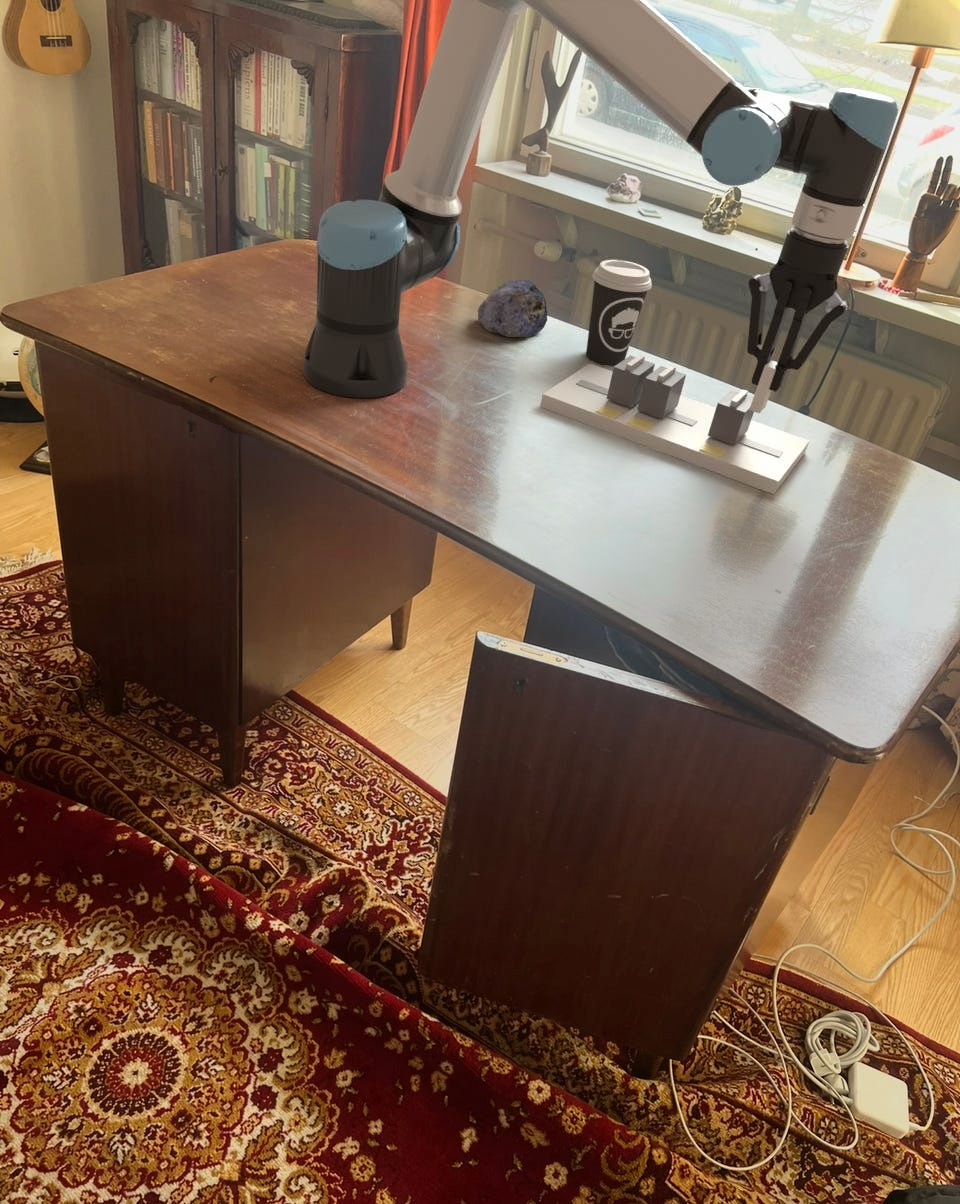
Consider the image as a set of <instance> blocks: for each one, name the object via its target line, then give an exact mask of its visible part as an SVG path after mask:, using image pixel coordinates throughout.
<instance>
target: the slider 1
mask: <svg viewBox="0 0 960 1204" xmlns="http://www.w3.org/2000/svg"><path fill="white" fill-rule="evenodd" d="M645 358H646V356H645V355H643V354H639V355H637V356H633V355H629V356H628V357H627V356H626V357H625V359H624V360H623V361H622V362H620V363H619V364H617V365H616V366H613V368H612V372H613V373H612V377H611V381H610V386H609V390H608V394H607V399H608V400H611V401H614V402H617V403H619V404H622V405H625V406H628V407H630V408H631V407H633V406H634V405H635V404H637V403H638V402H639V401H640V397H641V393H642V389H643V385H644V381H645V378H646V377H647V376H648V375H650V374H651V373H652V372H654V371H655V365H656V364H655V362H654V363H653V362H650V361H648V360H645Z"/></svg>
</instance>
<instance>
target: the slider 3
mask: <svg viewBox="0 0 960 1204" xmlns="http://www.w3.org/2000/svg"><path fill="white" fill-rule="evenodd" d="M748 393H749V391H748V390H746V389H742V390H741V391H739V392H738V391H735V390H733V389H731V390H729V391H728V393H727V394H726V395H725V396H723V398H721V399H720V400H719V401H718V402H717V403H716V407H715V408H716V410H715V413H714V417H713V420H712V423H711V426H710V430H709V433H708V436H710V437H713V438H716V439H719V440H721V441H724V442H727V443H730V444H732V445H735V444H736V443H737V442H738V441H739V440H740V439H741V438H742V437H743V435H744V434H745V433H746V432H747V431H748V428H749V425H750V422H751V420H753V417H754V413H755V412H754V411H751V410H749V409H750V406H751V403H752V401H753V398H754V396H750V395H748Z"/></svg>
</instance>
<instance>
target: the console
mask: <svg viewBox="0 0 960 1204" xmlns="http://www.w3.org/2000/svg"><path fill="white" fill-rule="evenodd" d="M612 373H613V370H609V369H607V368H604V367H600V366H599V365H594V364H592V363H588V364H587V365H585V366H584V367H582V368H580V369H579V370H577V371H576V372H574V373H573V374H571V375H569V376H568V377H567V378H565V379H563V380H562V381H560V382H559V383H557V384H556V385H554V386H552V387H551V388H549V389H548V390H546V391H545V392H543V393H542V395H541V401H540V407H541V408H543V409H545V410H548V411H550V412H554V413H557V414H559V415H562V416H565V417H568V418H570V419H573V420H576V421H578V422H581V423H583V424H586V425H589V426H590V427H594V428H597V429H599V430H602V431H605V432H607V433H610V434H613V435H615V436H618V437H620V438H623V439H626V440H628V441H631V442H634V443H636V444H639V445H641V446H644V447H647V448H650V449H651V450H655V451H658V452H661V453H663V454H665V455H667V456H672V458H673V457H674V458H676V459H679V460H682V461H684V462H687V463H689V464H692V465H695V466H697V467H700V468H702V469H704V470H708V471H711V472H713V473H716V474H718V475H722V476H724V477H725V478H726V477H727V478H729V479H732V480H735V481H737V482H740V483H743V484H745V485H747V486H748V485H749V486H750V487H753V488H756V489H758V490H761V491H763V492H766V493H770V494H771V495H775V493H776V492H777V491H778V490H779V489H780V487H781V486H782V484H783V483H784V482H785V480H786V479H787V478H788V476H789V475H790V474H791V472H793V470H794V468H795V467H797V464H798V463H799V462H800V461H801V459H802V458H803V457H804V455H805V454H806V451H807V449H808V446H809V443H810V440H809V439H806V438H803V437H801V436H797V435H794V434H791V433H789V432H785V431H783V430H781V429H777V428H774V427H772V426H769V425H766V424H763V423H760V422H758V421H754V420H753V419H751V422H750V425H749V428H748V431H747V432H746V433H745V434H744V435H743V437H742V438H741V439H740V440H739V441H738V442H737V443H736V444H735V445H732V444H730V443H727V442H724V441H721V440H719V439H716V438H713V437H710V436H708V433H709V430H710V426H711V423H712V420H713V417H714V413H715V410H716V407H714V406H713V405H712V406H711V405H709V404H706V403H703V402H701V401H697V400H694V399H691V398H689V397H686V396H683V395H682V394H681V395H680V399H679V402H678V406H677V407H676V408H675V409H674V410H672V411H671V412H670V413H669V414H668V415H667V416H665V417H664V418H663V419H661V418H658V417H655V416H652V415H650V414H647V413H644V412H641V411H639V410H637V409H638V405H639V402H638V403H637V404H635V405H634V406H633V407H631V408H630V407H628V406H625V405H622V404H619V403H617V402H614V401H611V400H608V399H607V394H608V390H609V386H610V381H611V377H612Z"/></svg>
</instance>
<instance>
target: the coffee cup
mask: <svg viewBox="0 0 960 1204" xmlns="http://www.w3.org/2000/svg"><path fill="white" fill-rule="evenodd" d="M650 275H651V274H650V270H649V269H648V268H646V267H645V266H643V265H640V264H639V263H635V262H632V261H628V260H622V259H606V260H603V261H601V262H600V263H599V265H598V267H597V268H595V269H594V271H593V273H592V275H591V276H592V279H593V281H594V284H593V291H592V292H593V293H592V300H591V301H592V302H591V309H590V318H589V326H588V335H587V342H586V352H585V357H586V358H587V359H588V360H589V361H591V362H593V363H595V364H597V365H601V366H607V367H614V366H616V365H617V364H619V363H620V362H622V361H623V360H624V359H626V358H627V354H628V351H629V348H630V345H631V342H632V338H633V335H634V332H635V329H636V326H637V323H638V320H639V317H640V314H641V311H642V308H643V305H644V302H645V299H646V296H647V293H648V291H650V290H651V289H652V287H653V285H652V284H653V283H652V278H651V277H650Z"/></svg>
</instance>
